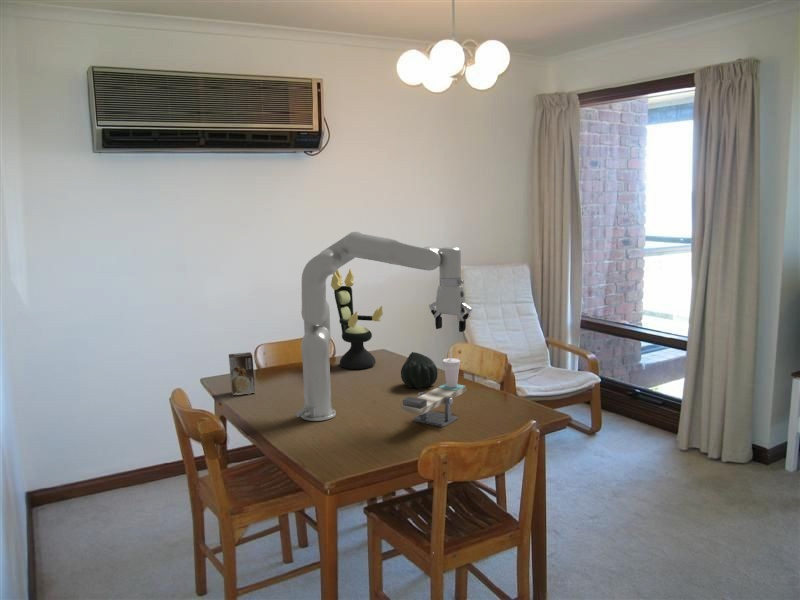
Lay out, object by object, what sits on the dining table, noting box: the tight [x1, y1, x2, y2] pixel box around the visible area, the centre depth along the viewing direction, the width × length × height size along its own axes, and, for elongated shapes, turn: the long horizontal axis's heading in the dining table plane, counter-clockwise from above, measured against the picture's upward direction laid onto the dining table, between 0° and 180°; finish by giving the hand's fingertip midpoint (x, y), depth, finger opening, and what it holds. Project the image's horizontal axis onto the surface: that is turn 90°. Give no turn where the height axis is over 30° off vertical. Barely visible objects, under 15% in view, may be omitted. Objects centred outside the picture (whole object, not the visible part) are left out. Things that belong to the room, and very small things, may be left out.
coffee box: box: [228, 351, 256, 395], centre depth 268 cm, size 9×6×16 cm
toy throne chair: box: [330, 268, 384, 370], centre depth 306 cm, size 19×22×45 cm
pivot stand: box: [412, 391, 458, 428], centre depth 232 cm, size 10×14×9 cm
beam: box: [401, 383, 467, 416], centre depth 232 cm, size 29×8×4 cm, turn 144°
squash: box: [400, 351, 438, 390], centre depth 273 cm, size 14×15×15 cm
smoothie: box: [442, 347, 461, 388], centre depth 239 cm, size 6×6×14 cm
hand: (450, 329), depth 237 cm, fingers open, 9 cm apart
